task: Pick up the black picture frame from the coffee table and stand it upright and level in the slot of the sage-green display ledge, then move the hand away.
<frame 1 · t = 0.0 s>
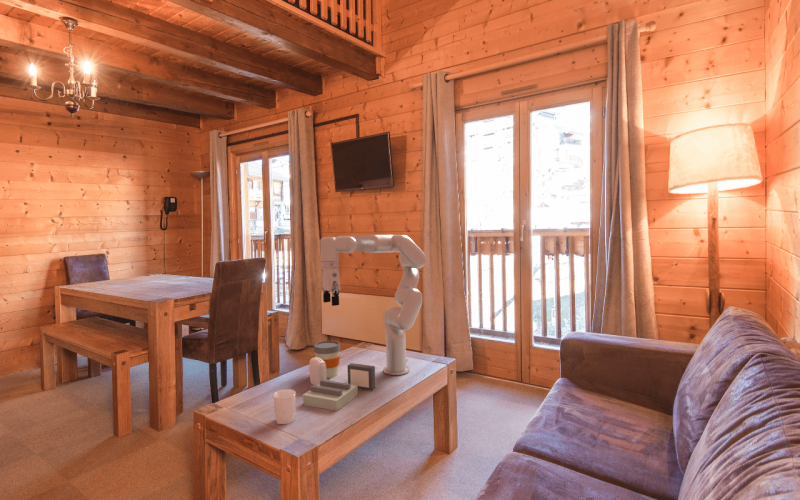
hand: (331, 303, 176), 37 cm above the table, tool pointing down, fingers open, 9 cm apart
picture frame: (361, 388, 176), on the table
reusable coffee cup: (328, 375, 192), on the table
white cup: (285, 420, 147), on the table
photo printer: (318, 385, 180), on the table
display ledge: (331, 399, 164), on the table
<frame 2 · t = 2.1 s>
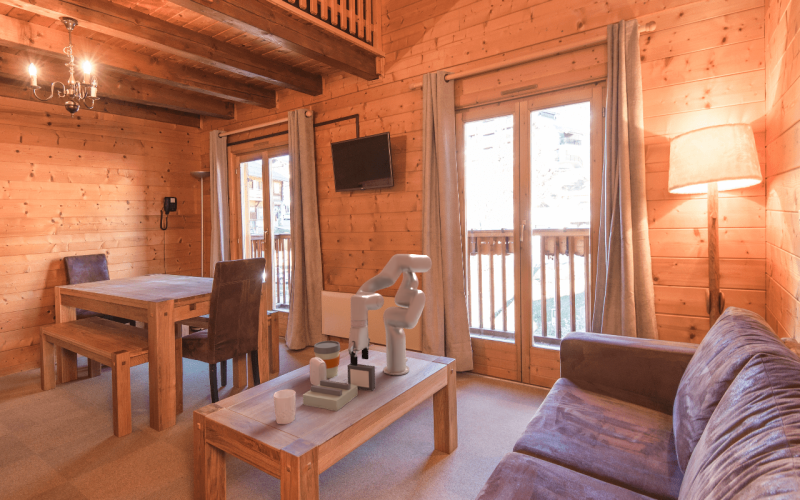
hand: (359, 362, 174), 12 cm above the table, tool pointing down, fingers open, 9 cm apart
nothing on the table moved.
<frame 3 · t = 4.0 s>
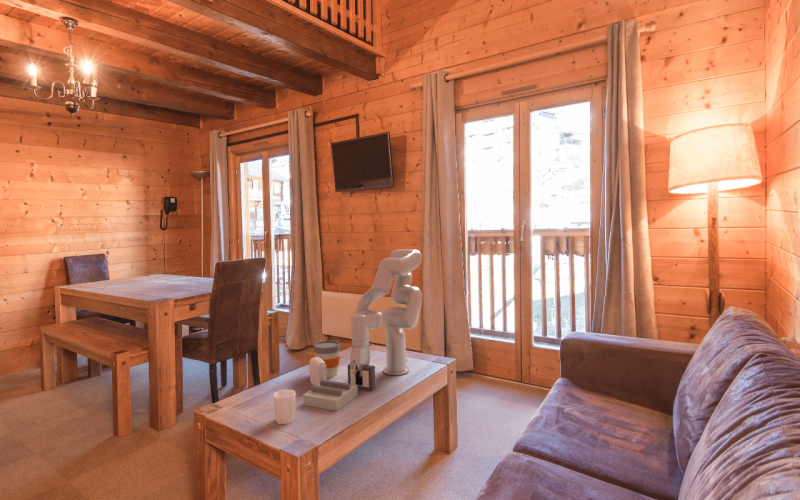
hand: (361, 382, 175), 2 cm above the table, tool pointing down, fingers closed on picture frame, 3 cm apart
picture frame: (361, 387, 176), on the table, touching gripper
everything else where it was.
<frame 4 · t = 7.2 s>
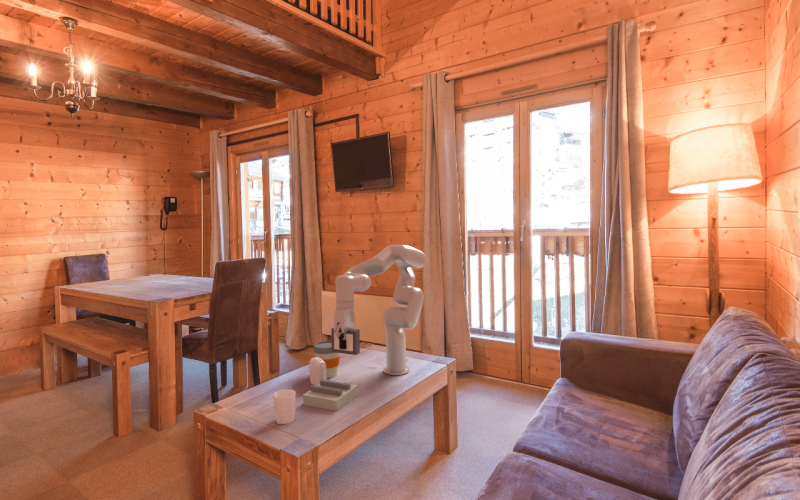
hand: (345, 347, 169), 20 cm above the table, tool pointing down, fingers closed on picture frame, 3 cm apart
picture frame: (345, 352, 169), point 18 cm above the table, touching gripper
everything else where it was.
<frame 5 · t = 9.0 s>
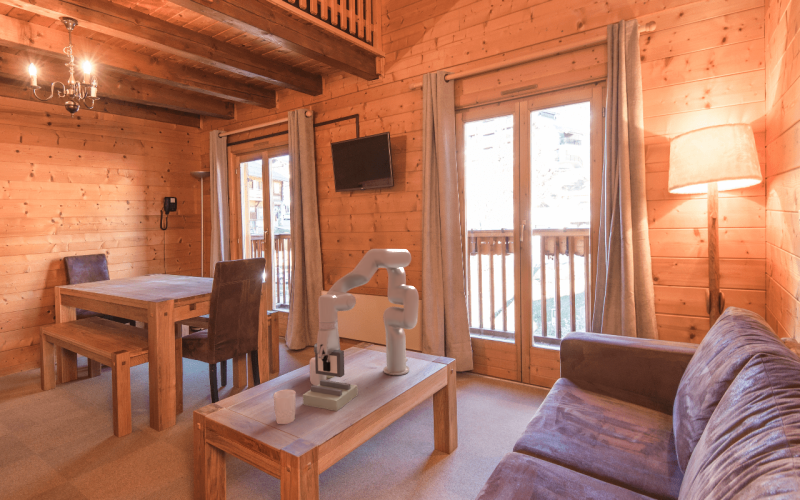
hand: (329, 369, 163), 13 cm above the table, tool pointing down, fingers closed on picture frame, 3 cm apart
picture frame: (329, 374, 164), point 11 cm above the table, touching gripper
everything else where it was.
when the fingers open (8 cm above the table, at t = 10.6 s): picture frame drops 1 cm, resting on display ledge.
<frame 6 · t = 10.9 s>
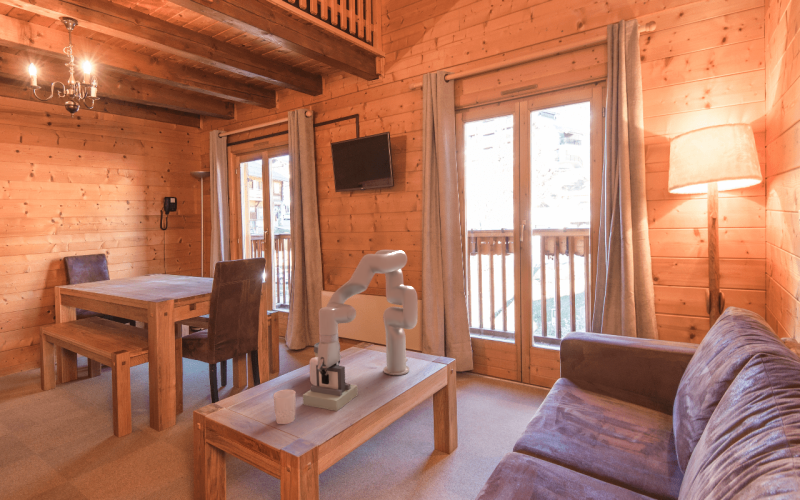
hand: (330, 380, 164), 8 cm above the table, tool pointing down, fingers open, 6 cm apart
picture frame: (331, 389, 164), point 4 cm above the table, touching display ledge
everything else where it was.
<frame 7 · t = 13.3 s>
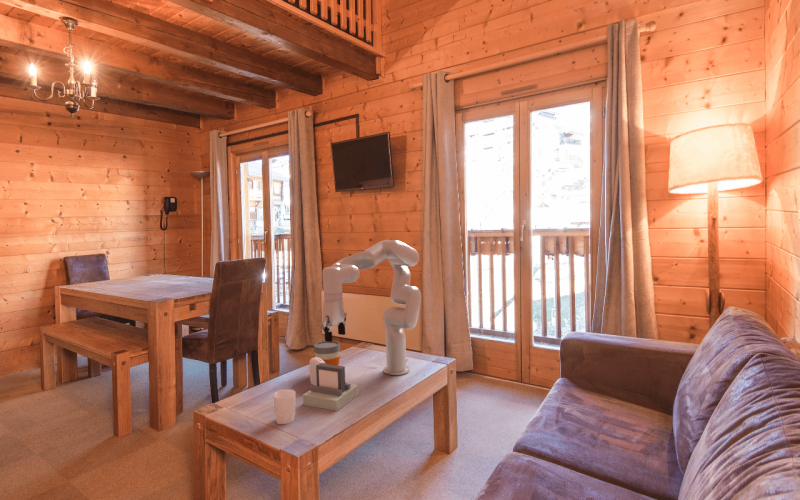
hand: (335, 337, 165), 25 cm above the table, tool pointing down, fingers open, 9 cm apart
nothing on the table moved.
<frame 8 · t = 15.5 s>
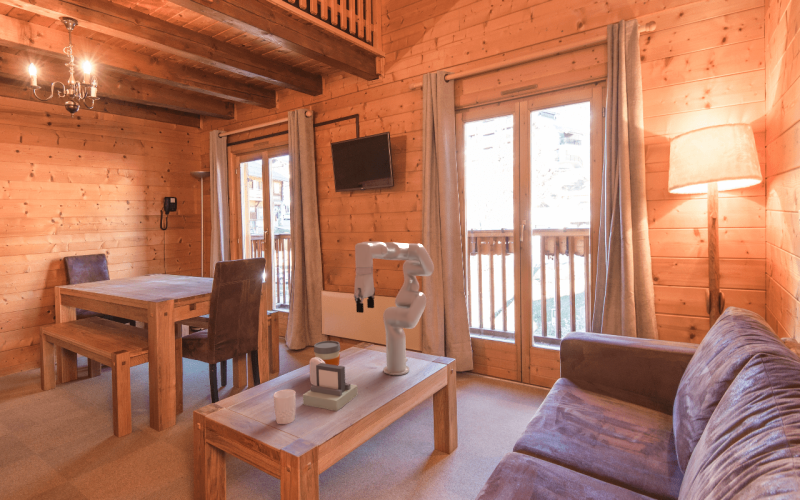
hand: (365, 310, 175), 34 cm above the table, tool pointing down, fingers open, 9 cm apart
nothing on the table moved.
at the end: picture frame 0.2 cm off-centre on the display ledge, point 4.0 cm above the display ledge's base; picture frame tilted 0°; the gripper is holding nothing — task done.
